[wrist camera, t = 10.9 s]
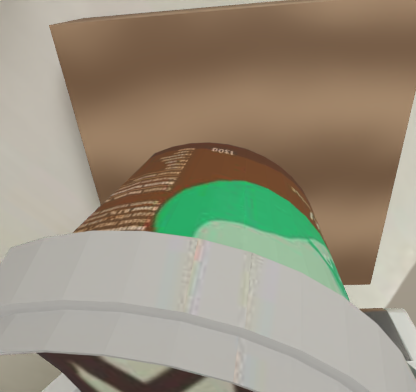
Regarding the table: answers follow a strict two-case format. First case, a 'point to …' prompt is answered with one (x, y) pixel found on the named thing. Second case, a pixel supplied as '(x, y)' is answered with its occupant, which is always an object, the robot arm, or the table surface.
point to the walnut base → (256, 99)
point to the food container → (196, 288)
